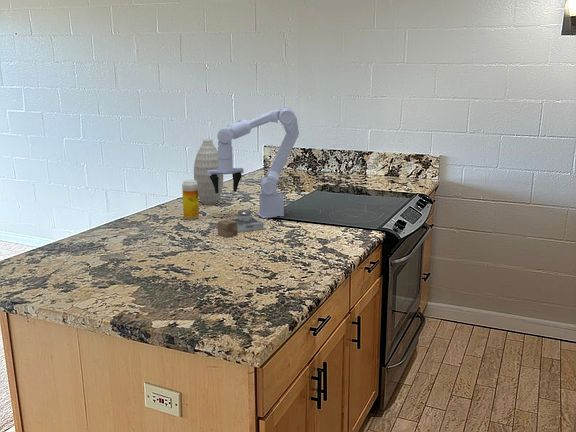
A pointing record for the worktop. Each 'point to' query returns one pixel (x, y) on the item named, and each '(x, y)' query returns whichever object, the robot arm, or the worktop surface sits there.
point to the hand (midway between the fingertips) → (226, 192)
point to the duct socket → (249, 225)
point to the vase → (204, 162)
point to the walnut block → (227, 228)
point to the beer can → (190, 199)
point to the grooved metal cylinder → (244, 217)
